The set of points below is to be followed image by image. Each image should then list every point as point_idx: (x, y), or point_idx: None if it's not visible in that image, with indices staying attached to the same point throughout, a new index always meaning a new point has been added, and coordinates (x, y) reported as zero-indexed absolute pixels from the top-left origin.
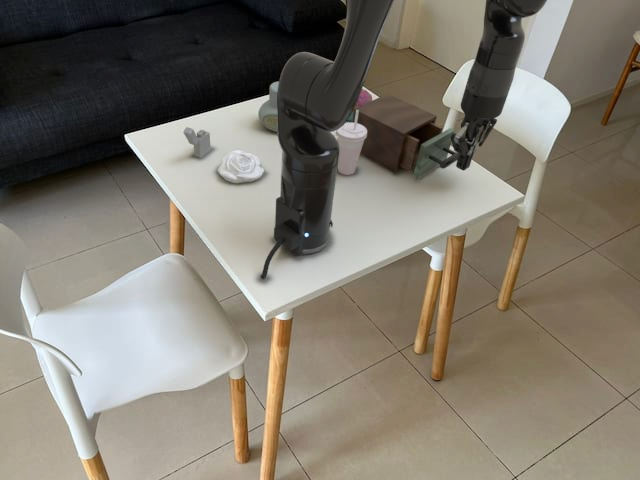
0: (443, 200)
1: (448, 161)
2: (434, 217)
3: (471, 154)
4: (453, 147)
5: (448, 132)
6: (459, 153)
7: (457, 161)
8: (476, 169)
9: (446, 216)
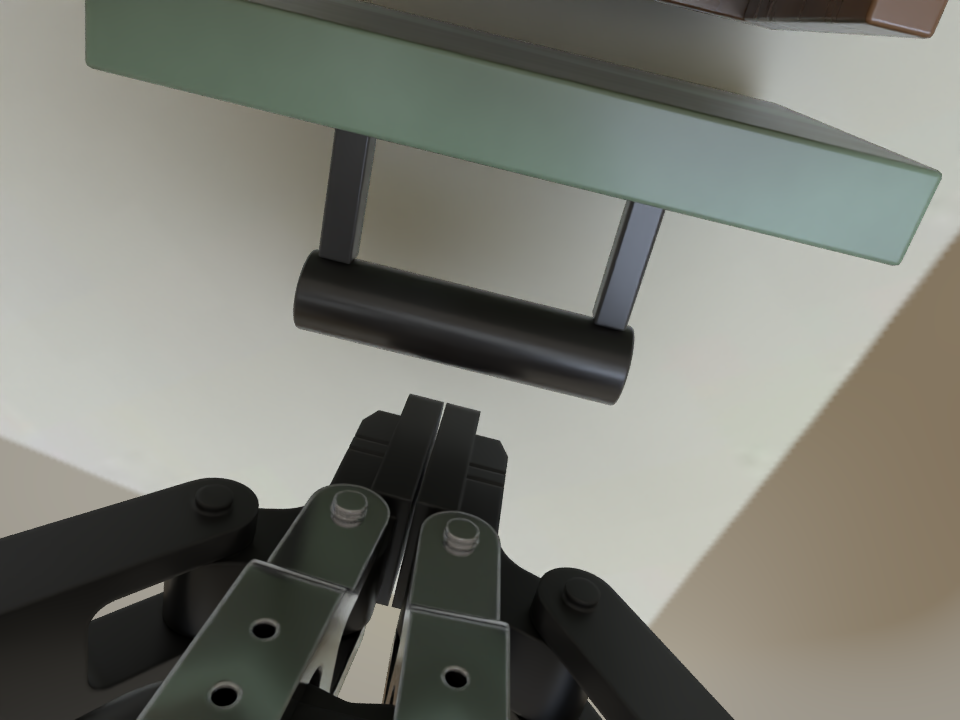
0: (242, 326)
1: (351, 336)
2: (25, 341)
3: (382, 604)
4: (99, 510)
5: (758, 205)
6: (585, 385)
7: (400, 418)
8: (824, 404)
9: (97, 401)
